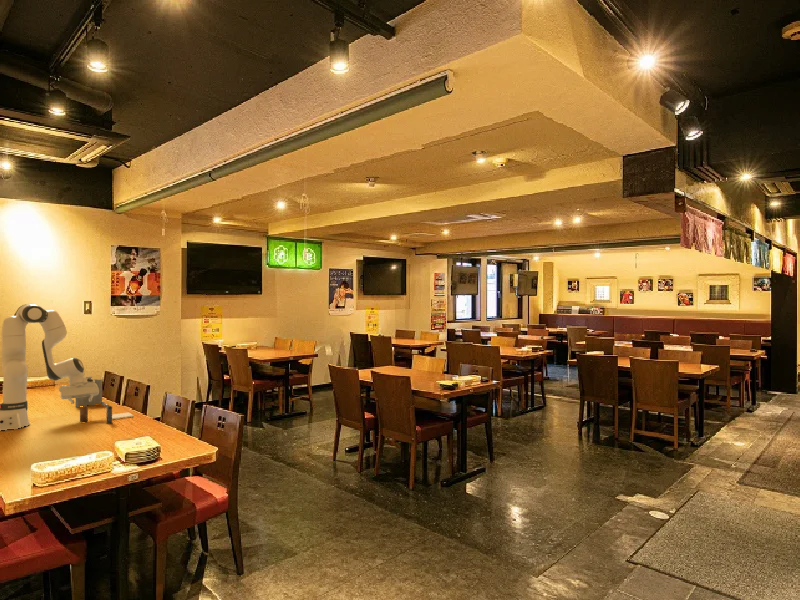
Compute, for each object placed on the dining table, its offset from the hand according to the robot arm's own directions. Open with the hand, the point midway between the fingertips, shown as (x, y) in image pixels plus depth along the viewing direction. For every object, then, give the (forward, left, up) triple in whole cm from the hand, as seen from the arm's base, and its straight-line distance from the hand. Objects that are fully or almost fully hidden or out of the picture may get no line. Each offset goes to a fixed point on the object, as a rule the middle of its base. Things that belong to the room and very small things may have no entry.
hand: (81, 402), depth 312 cm
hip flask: (+13, +47, -11) cm, 50 cm away
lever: (+10, -12, -11) cm, 19 cm away
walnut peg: (0, -7, -11) cm, 13 cm away
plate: (+20, -7, -11) cm, 24 cm away
